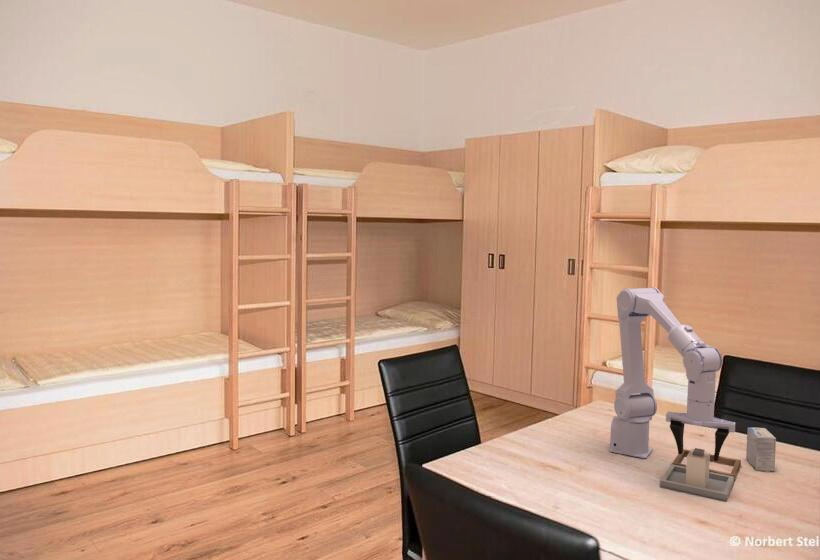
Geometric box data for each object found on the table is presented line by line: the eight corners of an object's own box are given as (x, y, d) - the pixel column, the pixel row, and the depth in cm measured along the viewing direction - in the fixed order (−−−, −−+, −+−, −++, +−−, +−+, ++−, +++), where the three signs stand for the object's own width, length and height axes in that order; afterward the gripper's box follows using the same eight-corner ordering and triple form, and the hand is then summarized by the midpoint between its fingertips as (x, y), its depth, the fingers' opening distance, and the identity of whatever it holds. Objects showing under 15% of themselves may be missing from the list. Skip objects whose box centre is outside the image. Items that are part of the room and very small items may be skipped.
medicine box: (775, 472, 157) (776, 438, 156) (755, 470, 158) (757, 436, 157) (764, 460, 165) (765, 427, 164) (745, 459, 166) (747, 426, 165)
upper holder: (671, 469, 159) (672, 463, 159) (681, 454, 169) (681, 448, 169) (734, 481, 151) (734, 475, 151) (740, 465, 161) (741, 459, 161)
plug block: (685, 485, 148) (686, 452, 147) (690, 476, 153) (691, 445, 152) (704, 489, 146) (705, 456, 145) (708, 480, 151) (710, 448, 150)
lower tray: (659, 487, 148) (660, 480, 148) (670, 470, 158) (671, 464, 158) (726, 501, 140) (726, 494, 140) (733, 483, 150) (734, 476, 150)
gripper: (663, 398, 148) (661, 455, 149) (733, 408, 140) (730, 468, 141) (670, 391, 154) (668, 446, 155) (737, 401, 146) (734, 458, 147)
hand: (698, 456), depth 149 cm, fingers open, 7 cm apart
